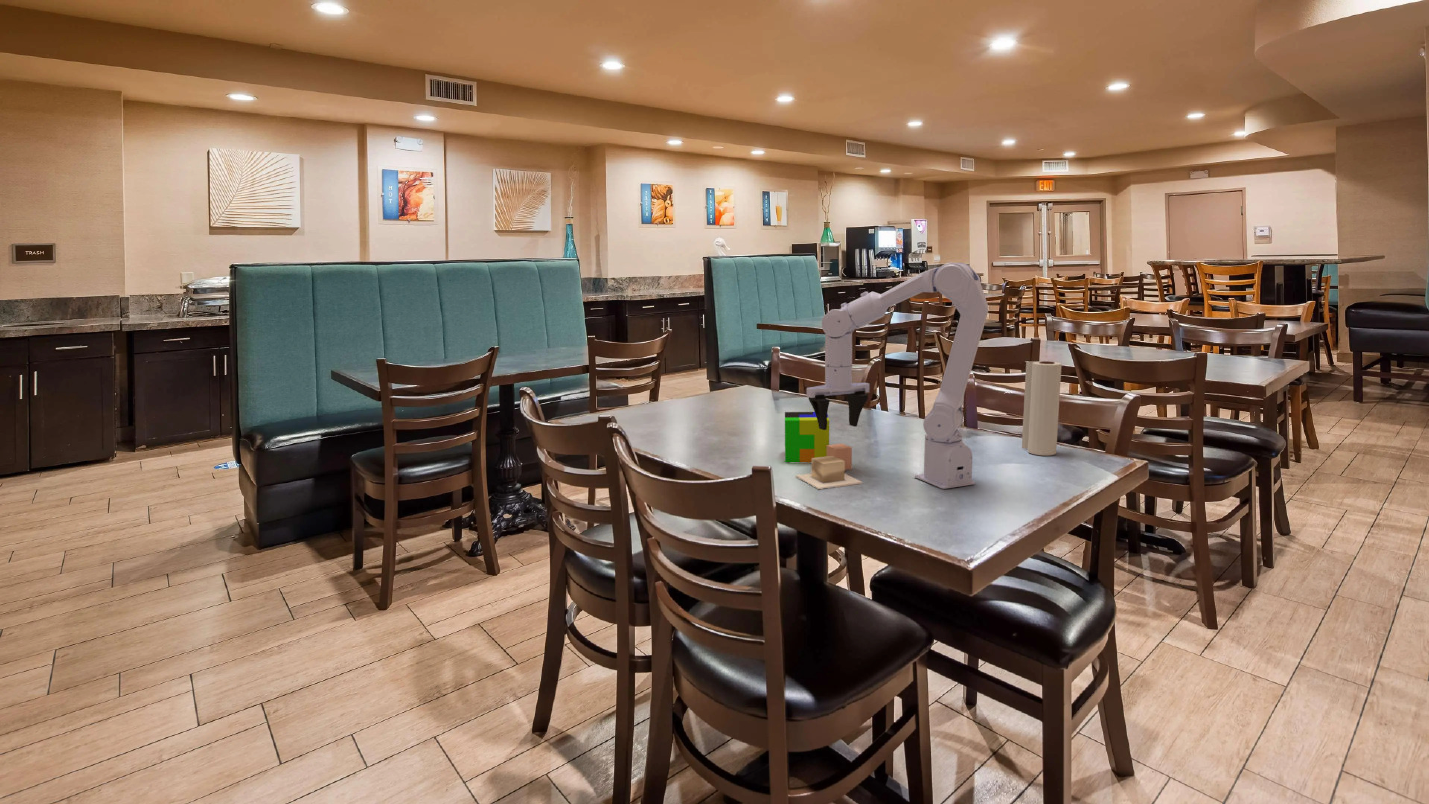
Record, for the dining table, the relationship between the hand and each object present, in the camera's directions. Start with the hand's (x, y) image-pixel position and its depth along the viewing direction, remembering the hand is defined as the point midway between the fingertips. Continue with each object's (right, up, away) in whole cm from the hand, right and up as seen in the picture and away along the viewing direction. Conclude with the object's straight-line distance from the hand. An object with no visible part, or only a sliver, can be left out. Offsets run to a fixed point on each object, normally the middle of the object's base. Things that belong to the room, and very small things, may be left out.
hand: (838, 427), depth 159 cm
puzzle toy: (-5, -8, +13) cm, 16 cm away
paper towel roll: (+49, -7, +12) cm, 51 cm away
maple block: (-3, -10, -7) cm, 13 cm away
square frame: (-3, -11, -7) cm, 13 cm away
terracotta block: (+1, -9, +3) cm, 10 cm away
